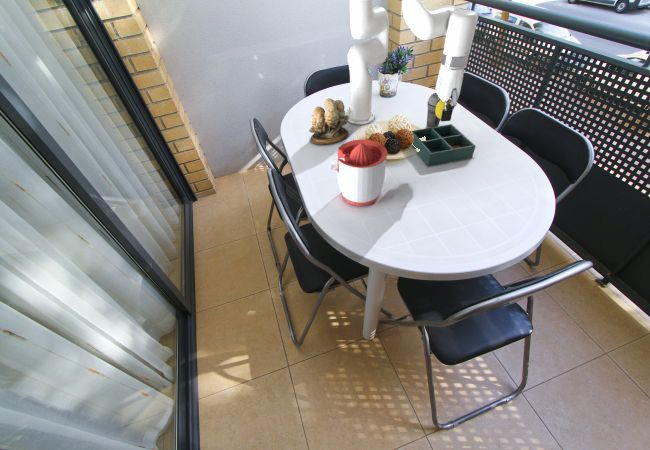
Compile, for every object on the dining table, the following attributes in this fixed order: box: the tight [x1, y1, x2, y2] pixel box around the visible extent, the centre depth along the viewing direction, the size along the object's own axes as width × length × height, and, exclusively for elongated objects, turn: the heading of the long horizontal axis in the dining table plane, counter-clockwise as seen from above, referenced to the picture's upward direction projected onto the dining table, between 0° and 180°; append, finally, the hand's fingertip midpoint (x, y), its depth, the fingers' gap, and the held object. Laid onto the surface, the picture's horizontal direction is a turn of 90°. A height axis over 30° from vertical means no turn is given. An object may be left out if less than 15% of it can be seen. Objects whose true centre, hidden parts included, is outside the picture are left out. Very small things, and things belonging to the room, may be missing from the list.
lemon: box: [435, 98, 451, 121], centre depth 106 cm, size 6×6×8 cm
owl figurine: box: [308, 98, 349, 146], centre depth 131 cm, size 18×12×17 cm, turn 116°
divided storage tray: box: [410, 123, 476, 167], centre depth 122 cm, size 18×18×5 cm
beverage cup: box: [426, 92, 441, 128], centre depth 129 cm, size 7×7×20 cm
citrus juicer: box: [330, 139, 389, 207], centre depth 101 cm, size 16×17×20 cm
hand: (442, 116), depth 108 cm, fingers closed on lemon, 5 cm apart
